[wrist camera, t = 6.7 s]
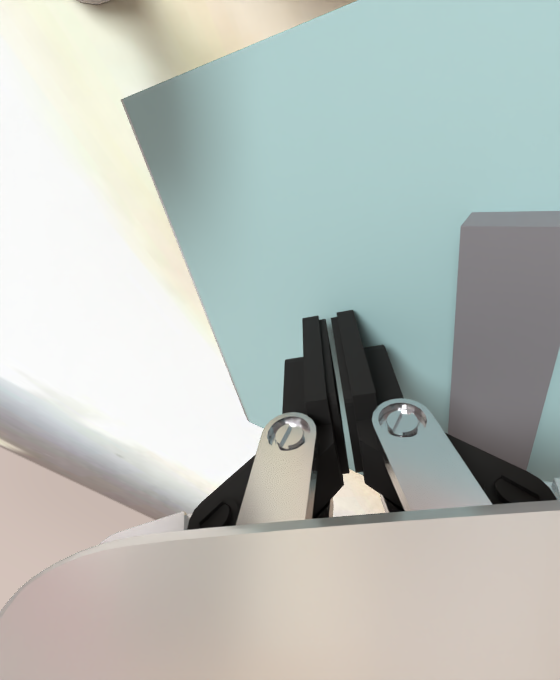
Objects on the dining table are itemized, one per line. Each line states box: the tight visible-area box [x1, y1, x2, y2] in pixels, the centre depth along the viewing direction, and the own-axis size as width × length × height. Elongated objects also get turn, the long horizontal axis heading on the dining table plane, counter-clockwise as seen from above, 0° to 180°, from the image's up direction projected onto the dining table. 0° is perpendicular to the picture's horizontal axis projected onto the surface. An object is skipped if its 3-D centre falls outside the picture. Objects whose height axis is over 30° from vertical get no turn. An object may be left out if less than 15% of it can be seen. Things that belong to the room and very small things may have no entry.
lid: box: [121, 0, 560, 482], centre depth 12 cm, size 14×16×2 cm
